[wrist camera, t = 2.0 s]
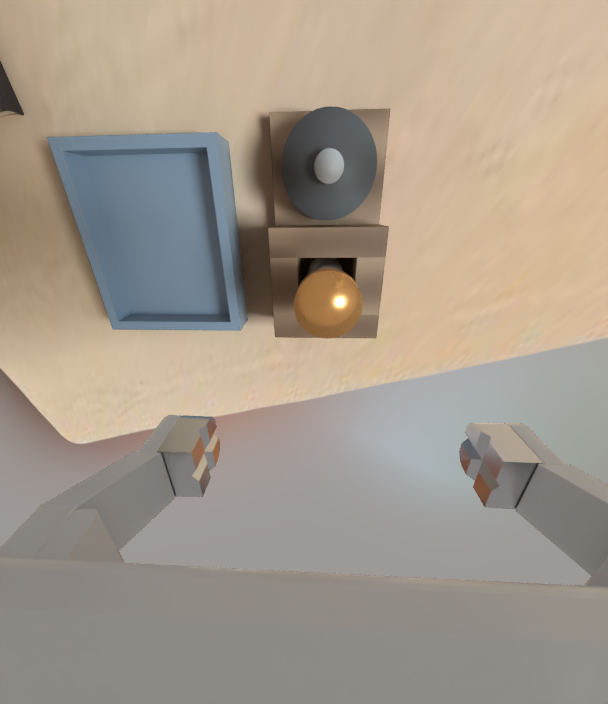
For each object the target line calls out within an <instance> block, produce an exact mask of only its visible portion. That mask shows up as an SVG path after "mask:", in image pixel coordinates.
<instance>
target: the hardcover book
mask: <svg viewBox="0 0 608 704" xmlns="http://www.w3.org/2000/svg"><path fill="white" fill-rule="evenodd" d="M15 113H19V114H21V115H24V113H23V111H22V109H21V106H20V104H19V102H18V100H17V97H16V95H15V93H14V91H13V88H12V86H11V84H10V82H9V79H8V77H7V75H6V73H5V70H4V68H3V66H2V64H1V61H0V116H5V115H10V114H15Z"/></svg>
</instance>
